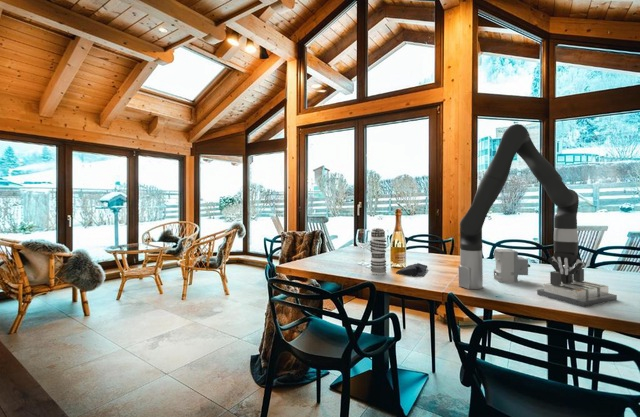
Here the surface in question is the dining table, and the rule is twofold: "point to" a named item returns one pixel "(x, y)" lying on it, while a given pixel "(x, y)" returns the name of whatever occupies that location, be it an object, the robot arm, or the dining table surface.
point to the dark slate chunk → (413, 270)
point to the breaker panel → (581, 301)
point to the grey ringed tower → (378, 251)
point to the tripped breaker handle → (555, 278)
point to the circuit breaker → (509, 265)
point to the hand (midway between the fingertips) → (566, 283)
